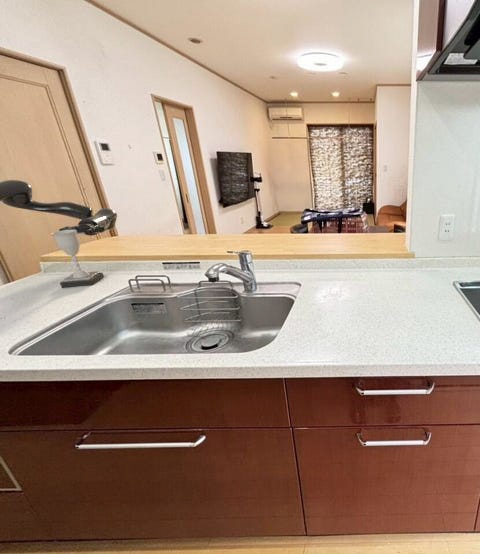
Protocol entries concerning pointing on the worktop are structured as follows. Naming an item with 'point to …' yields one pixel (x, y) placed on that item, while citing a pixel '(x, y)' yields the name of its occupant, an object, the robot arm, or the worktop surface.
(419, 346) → the worktop surface
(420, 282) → the worktop surface
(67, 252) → the chalice
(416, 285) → the worktop surface
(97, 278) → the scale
